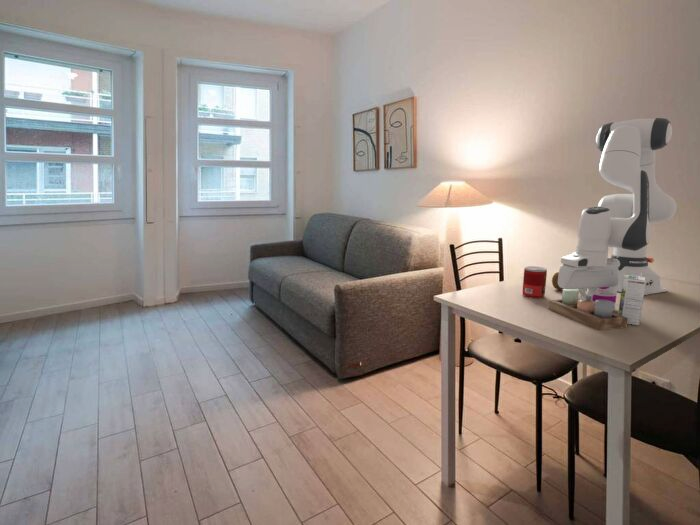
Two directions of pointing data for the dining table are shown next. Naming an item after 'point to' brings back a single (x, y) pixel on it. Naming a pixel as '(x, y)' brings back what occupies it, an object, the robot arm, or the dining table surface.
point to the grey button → (603, 308)
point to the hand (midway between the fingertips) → (586, 300)
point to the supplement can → (606, 294)
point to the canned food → (534, 281)
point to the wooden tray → (587, 316)
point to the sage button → (570, 296)
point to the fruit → (556, 281)
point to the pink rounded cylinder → (585, 305)
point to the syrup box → (632, 298)
